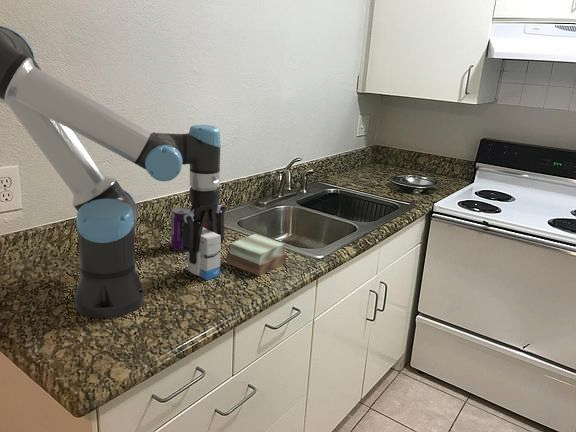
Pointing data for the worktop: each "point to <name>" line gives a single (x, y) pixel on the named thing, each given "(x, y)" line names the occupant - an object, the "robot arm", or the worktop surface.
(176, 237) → the beverage can
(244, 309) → the worktop surface
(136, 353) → the worktop surface
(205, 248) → the ink box
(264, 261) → the pedestal
